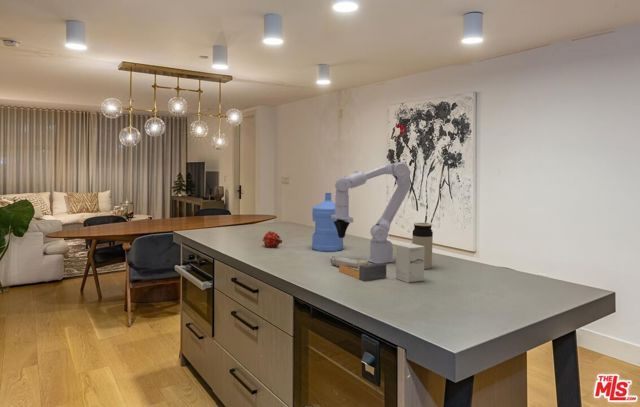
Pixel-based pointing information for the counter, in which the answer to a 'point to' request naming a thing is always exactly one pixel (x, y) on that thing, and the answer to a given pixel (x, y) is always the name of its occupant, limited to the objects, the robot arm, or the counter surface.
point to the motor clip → (366, 271)
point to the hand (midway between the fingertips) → (341, 237)
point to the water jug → (325, 227)
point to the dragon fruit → (271, 239)
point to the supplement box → (410, 262)
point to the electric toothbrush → (347, 262)
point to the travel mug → (424, 241)
